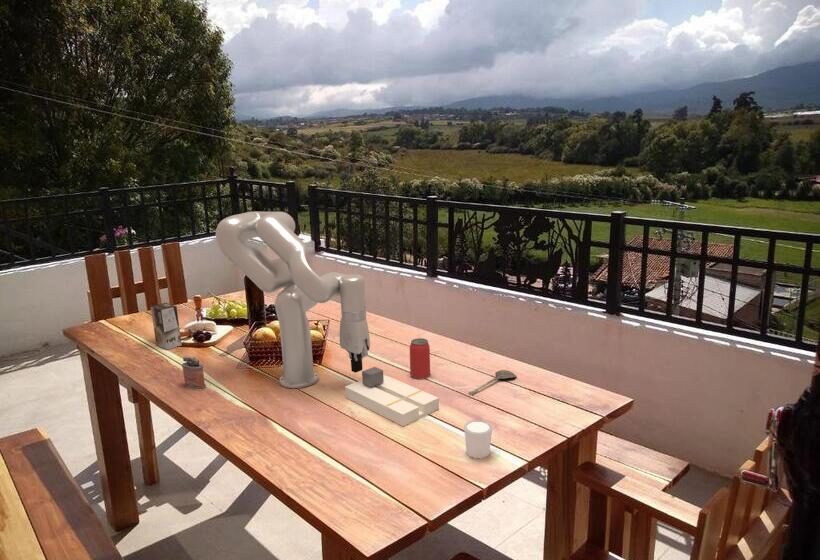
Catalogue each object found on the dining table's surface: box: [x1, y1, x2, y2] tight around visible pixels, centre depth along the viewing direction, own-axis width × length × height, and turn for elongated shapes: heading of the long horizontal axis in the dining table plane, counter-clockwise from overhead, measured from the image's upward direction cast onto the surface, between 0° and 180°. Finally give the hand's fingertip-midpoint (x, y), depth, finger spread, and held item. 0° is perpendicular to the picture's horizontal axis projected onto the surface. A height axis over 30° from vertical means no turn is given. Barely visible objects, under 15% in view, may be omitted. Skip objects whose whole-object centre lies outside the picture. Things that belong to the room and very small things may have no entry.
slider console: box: [344, 373, 440, 427], centre depth 167 cm, size 26×14×4 cm, turn 43°
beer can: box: [409, 337, 431, 380], centre depth 185 cm, size 7×7×12 cm
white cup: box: [463, 420, 493, 459], centre depth 139 cm, size 7×7×7 cm
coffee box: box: [150, 302, 183, 351], centre depth 219 cm, size 9×6×16 cm
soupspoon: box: [468, 369, 517, 397], centre depth 178 cm, size 22×3×7 cm
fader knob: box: [361, 366, 384, 387], centre depth 172 cm, size 4×5×6 cm
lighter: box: [181, 356, 207, 390], centre depth 181 cm, size 8×3×10 cm, turn 65°
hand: (357, 370), depth 177 cm, fingers closed
